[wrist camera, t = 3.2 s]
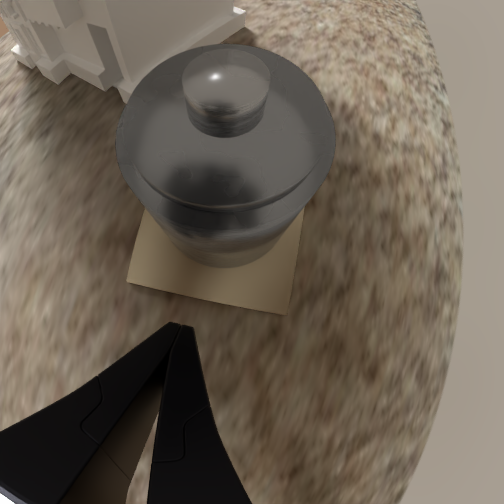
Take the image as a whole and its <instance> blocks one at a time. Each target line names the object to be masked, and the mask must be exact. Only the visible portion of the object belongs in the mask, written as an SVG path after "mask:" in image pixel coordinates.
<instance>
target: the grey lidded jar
mask: <svg viewBox="0 0 504 504" xmlns="http://www.w3.org/2000/svg"><path fill="white" fill-rule="evenodd" d="M115 145H116V156H117V160H118V164H119V168H120V170H121V172H122V175H123V177H124V179H125V181H126V182H127V184H128V185H129V187H130V188H131V190H132V191H133V193H134V194H135V195H136V197H137V198H138V199H139V200H140V202H141V203H142V204H143V206H144V207H145V208H146V210H147V211H148V212H149V213H150V215H151V216H152V217H153V218H154V220H155V221H156V222H157V224H158V225H159V226H160V227H161V229H162V230H163V231H164V232H165V234H166V235H167V236H168V237H169V239H170V240H171V241H172V242H173V244H174V245H175V246H176V247H177V248H178V249H179V250H180V251H181V252H182V253H183V254H185V255H186V256H187V257H189V258H190V259H192V260H194V261H196V262H198V263H200V264H203V265H206V266H210V267H216V268H233V267H239V266H243V265H246V264H249V263H251V262H254V261H256V260H257V259H259V258H261V257H262V256H264V255H265V254H266V253H267V252H269V251H270V250H271V249H272V248H273V247H274V245H275V244H276V243H277V242H278V240H279V239H280V238H281V236H282V235H283V234H284V233H285V231H286V230H287V229H288V227H289V226H290V225H291V223H292V222H293V221H294V220H295V218H296V217H297V216H298V214H299V213H300V212H301V211H302V209H303V208H304V207H305V205H306V204H307V203H308V201H309V200H310V199H311V197H312V196H313V195H314V194H315V192H316V191H317V190H318V188H319V187H320V186H321V184H322V183H323V181H324V180H325V178H326V176H327V174H328V172H329V170H330V168H331V164H332V161H333V158H334V153H335V146H336V138H335V128H334V123H333V120H332V116H331V113H330V111H329V109H328V107H327V105H326V103H325V101H324V99H323V97H322V95H321V93H320V91H319V89H318V88H317V86H316V85H315V84H314V82H313V81H312V80H311V79H310V78H309V77H308V75H307V74H306V73H305V72H303V71H302V70H301V69H300V68H299V67H298V66H296V65H295V64H293V63H292V62H290V61H289V60H287V59H285V58H283V57H281V56H280V55H277V54H275V53H273V52H270V51H267V50H264V49H261V48H257V47H253V46H248V45H240V44H214V45H207V46H201V47H197V48H193V49H190V50H187V51H184V52H181V53H179V54H177V55H175V56H173V57H170V58H168V59H167V60H165V61H164V62H162V63H160V64H159V65H158V66H156V67H155V68H154V69H152V70H151V71H150V72H149V73H148V74H147V75H146V76H145V77H144V78H143V79H142V80H141V81H140V83H139V84H138V85H137V86H136V88H135V89H134V91H133V93H132V94H131V96H130V98H129V100H128V102H127V104H126V106H125V107H124V109H123V112H122V114H121V117H120V119H119V123H118V127H117V131H116V142H115Z"/></svg>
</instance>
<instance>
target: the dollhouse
mask: <svg viewBox="0 0 504 504" xmlns="http://www.w3.org/2000/svg"><path fill="white" fill-rule="evenodd" d="M0 17H2V19H3V21H4V23H5V24H6V26H7V27H8V29H9V31H10V33H11V34H12V36H13V38H14V39H15V41H16V43H17V45H16V46H15V47H13V48H12V49H11V52H12V53H13V55H14V56H15V58H16V59H17V61H19V62H21V63H23V64H24V65H26V66H28V67H29V68H31V69H33V68H34V67H35V66H37V67H38V68H39V70H40V72H41V73H42V75H43V76H45V77H46V78H48V79H50V80H51V81H53V82H55V83H56V84H58V85H59V84H60V83H61V82H62V81H63V80H64V79H65V78H66V77H67V76H68V75H69V74H70V73H72V74H74V75H76V76H77V77H79V78H81V79H83V80H85V81H87V82H89V83H90V84H92V85H94V86H96V87H98V88H99V89H101V90H103V91H105V92H106V91H107V90H108V89H109V88H110V87H111V86H113V87H115V88H117V89H118V90H119V93H120V95H121V97H122V100H123V102H124V103H126V104H127V102H128V100H129V98H130V96H131V94H132V93H133V91H134V89H135V88H136V86H137V85H138V84H139V83H140V81H141V80H142V79H143V78H144V77H145V76H146V75H147V74H148V73H149V72H150V71H151V70H152V69H154V68H155V67H156V66H158V65H159V64H160V63H162V62H164V61H165V60H167V59H168V58H170V57H173V56H175V55H177V54H179V53H181V52H184V51H187V50H190V49H193V48H197V47H201V46H207V45H214V44H219V43H221V42H222V41H224V40H225V39H227V38H228V37H230V36H231V35H233V34H234V33H236V32H237V31H239V30H240V29H242V28H244V27H245V19H246V11H244V10H242V9H239V8H236V7H234V0H0Z"/></svg>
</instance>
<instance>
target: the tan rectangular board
mask: <svg viewBox="0 0 504 504" xmlns="http://www.w3.org/2000/svg"><path fill="white" fill-rule="evenodd" d="M304 208H305V207H304ZM304 208H303V209H302V211H301V212H300V213H299V214H298V216H297V217H296V218H295V220H294V221H293V222H292V223H291V225H290V226H289V227H288V229H287V230H286V231H285V233H284V234H283V235H282V236H281V238H280V239H279V240H278V242H277V243H276V244H275V245H274V247H273V248H272V249H271V250H270V251H269V252H267V253H266V254H265V255H264V256H262V257H261V258H259V259H257V260H256V261H254V262H251V263H249V264H246V265H243V266H239V267H233V268H216V267H210V266H206V265H203V264H200V263H198V262H196V261H194V260H192V259H190V258H189V257H187V256H186V255H185V254H183V253H182V252H181V251H180V250H179V249H178V248H177V247H176V246H175V245H174V244H173V242H172V241H171V240H170V239H169V237H168V236H167V235H166V234H165V232H164V231H163V230H162V229H161V227H160V226H159V225H158V224H157V222H156V221H155V220H154V218H153V217H152V216H151V215H150V213H149V212H148V211H147V210H146V208H145V209H144V213H143V216H142V220H141V223H140V227H139V231H138V234H137V238H136V242H135V246H134V250H133V254H132V258H131V262H130V266H129V271H128V275H127V280H126V282H129V283H133V284H137V285H141V286H145V287H150V288H154V289H158V290H162V291H167V292H171V293H175V294H180V295H184V296H189V297H193V298H198V299H203V300H208V301H212V302H217V303H222V304H227V305H232V306H237V307H242V308H248V309H253V310H258V311H264V312H269V313H275V314H281V315H287V314H288V308H289V303H290V297H291V291H292V286H293V280H294V274H295V268H296V261H297V255H298V249H299V242H300V236H301V229H302V222H303V215H304Z"/></svg>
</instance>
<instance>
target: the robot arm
mask: <svg viewBox="0 0 504 504" xmlns="http://www.w3.org/2000/svg"><path fill="white" fill-rule="evenodd" d="M158 412H159V415H158V422H157V428H156V435H155V442H154V449H153V456H152V464H151V471H150V480H149V488H148V498H147V504H252V502H251V501H250V499H249V497H248V495H247V493H246V491H245V489H244V487H243V485H242V483H241V481H240V479H239V477H238V475H237V473H236V471H235V469H234V467H233V465H232V463H231V461H230V459H229V456H228V454H227V452H226V450H225V448H224V446H223V443H222V441H221V438H220V436H219V433H218V430H217V427H216V424H215V420H214V417H213V413H212V409H211V407H210V402H209V397H208V393H207V389H206V384H205V380H204V375H203V371H202V366H201V361H200V357H199V352H198V347H197V342H196V337H195V332H194V328H193V327H191V326H186V325H182V326H181V325H180V324H178V323H173V322H169V323H167V324H166V325H164V326H163V327H162V328H160V329H159V330H158V331H156V332H155V333H154V334H152V335H151V336H150V337H148V338H147V339H146V340H144V341H143V342H142V343H140V344H139V345H138V346H136V347H135V348H134V349H132V350H131V351H130V352H128V353H127V354H125V355H124V356H123V357H121V358H120V359H119V360H117V361H116V362H115V363H113V364H112V365H111V366H109V367H108V368H107V369H105V370H104V371H103V372H101V373H100V374H99V375H98V376H95V377H94V378H93V379H91V380H90V381H88V382H87V383H86V384H84V385H83V386H81V387H80V388H78V389H77V390H75V391H74V392H72V393H70V394H69V395H67V396H65V397H64V398H62V399H60V400H58V401H56V402H55V403H53V404H51V405H49V406H47V407H46V408H44V409H42V410H40V411H38V412H36V413H34V414H33V415H31V416H29V417H27V418H25V419H23V420H21V421H20V422H18V423H16V424H14V425H12V426H10V427H8V428H6V429H4V430H2V431H0V504H125V503H126V498H127V492H128V489H129V486H130V483H131V480H132V478H133V475H134V472H135V470H136V467H137V465H138V462H139V459H140V457H141V454H142V452H143V449H144V447H145V444H146V442H147V439H148V437H149V434H150V431H151V429H152V426H153V424H154V421H155V419H156V416H157V414H158Z"/></svg>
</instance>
